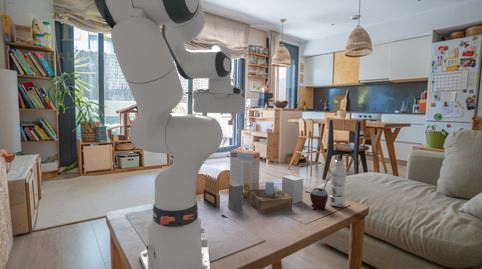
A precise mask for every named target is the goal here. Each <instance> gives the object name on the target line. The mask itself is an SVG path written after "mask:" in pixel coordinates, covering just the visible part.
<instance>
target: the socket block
mask: <svg viewBox="0 0 482 269" xmlns="http://www.w3.org/2000/svg"><path fill="white" fill-rule="evenodd" d="M292 200H293V198H292V197H291V196H289V195H287V194H286V193H284V192H282V189H279V188H277V187H274V196H267V195H265V188H259V189H257V190H248V197H247V202H248V203H249V204H250V205H251V206H252V207H253V208H255V210H256V211H258V212H259V213H260V214H268V213H275V212H281V211H283V212H284V211H291V210H293V203H292Z"/></svg>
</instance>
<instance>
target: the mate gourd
mask: <svg viewBox="0 0 482 269" xmlns="http://www.w3.org/2000/svg"><path fill="white" fill-rule="evenodd" d="M333 175H334V174H333ZM333 175H331V174H330V175H329V176H328V177H327V178H326V182H325V183H324V186H323V188H321V187H314V188H313V189H312V190H311V191H310V196H309V198H310V202H311V207H312V208H313V209H312V211H317V210H320V209H321V210H320V211H323V210H324V211H326V206H327V202H328V200H329V195H328V192H327V190H326V187H327V184H328V182H329V180H330V179H331V177H332V176H333ZM316 209H317V210H316Z"/></svg>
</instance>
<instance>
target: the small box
mask: <svg viewBox="0 0 482 269" xmlns="http://www.w3.org/2000/svg"><path fill="white" fill-rule="evenodd" d="M281 178H282V180H281V191H282V192H284V193H286V194H287V195H289V196H291V197H292V198H293V200H292V204H297V203H300V202H303V200H304V199H303V194H304V192H303V191H304V178H302V177H298V176H295V175H291V174H290V175H283V176H282V177H281Z"/></svg>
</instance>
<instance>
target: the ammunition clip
mask: <svg viewBox="0 0 482 269" xmlns="http://www.w3.org/2000/svg"><path fill="white" fill-rule="evenodd" d="M204 178H205V179H204V186H203V187H204V189H203V197H202V198H203V201H204V202H205V203H207V204H209V205H210V206H212V207H214V208H216V209H217V208H220V207H221V195H220V185H219V184H220V183H219V178H216V177H214V176H212V175H209V174H207V173H205V176H204Z"/></svg>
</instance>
